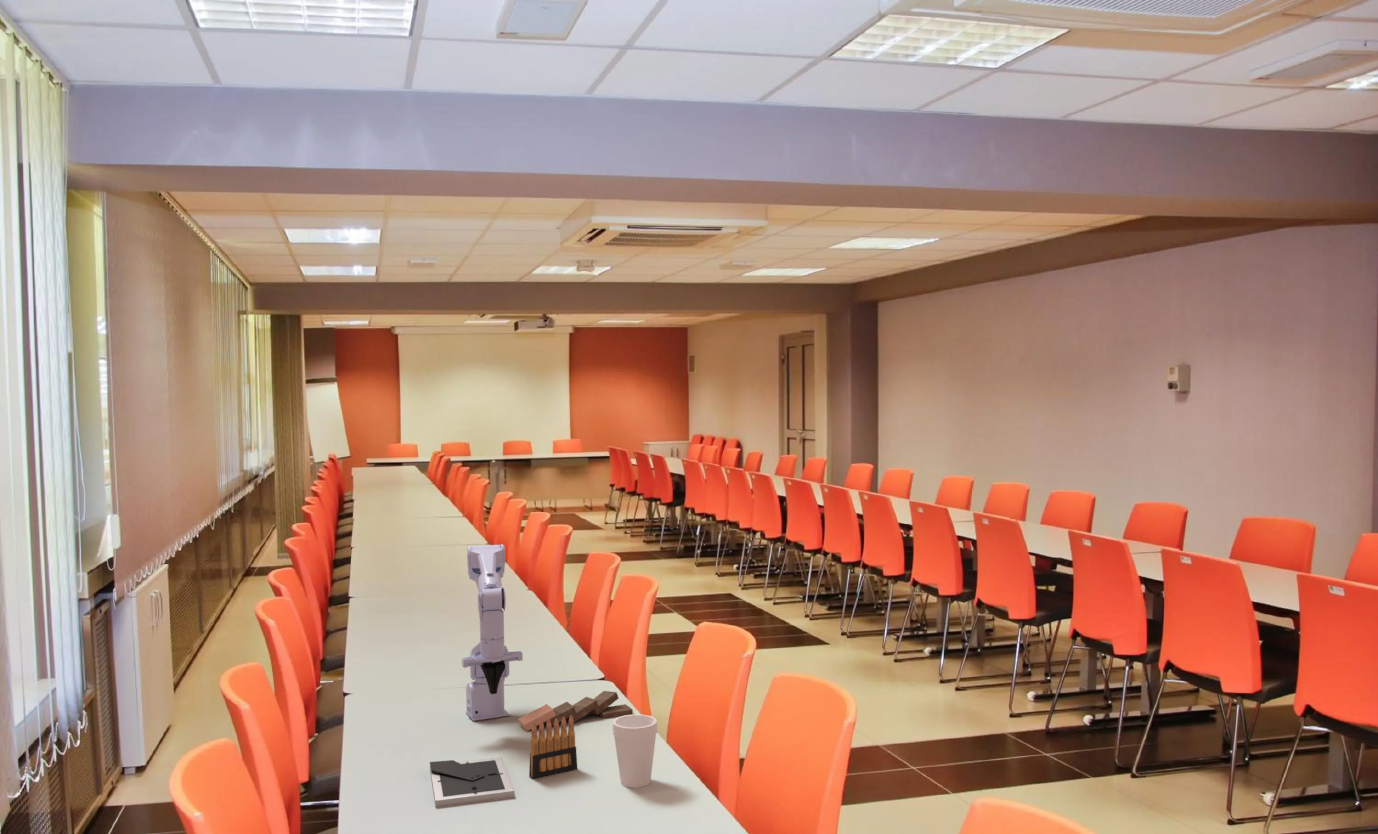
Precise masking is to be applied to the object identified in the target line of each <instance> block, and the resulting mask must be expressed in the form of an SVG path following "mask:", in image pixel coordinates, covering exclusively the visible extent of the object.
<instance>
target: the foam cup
mask: <svg viewBox="0 0 1378 834" xmlns="http://www.w3.org/2000/svg"><path fill="white" fill-rule="evenodd" d="M657 720H658V719H657V718H655V717H654V716H652V715H648V714H647V715H646V714H638V713H637V714H636V713H635V714H634V713H633V714H632V715H624V716H619V717H615V719H613V720H612V735H613V736H614V742H615V750H616V757H617V764H618V772H619V779H620V784H621V785H622V786H623V787H627V788H635V789H636V788H637V789H638V788H643V787H646V786H648V785H650V784H651V780H652V770H653V762H654V755H655V747H656V746H655V745H656V738H657V737H656V736H657V733H658V721H657Z"/></svg>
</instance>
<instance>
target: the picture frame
mask: <svg viewBox="0 0 1378 834" xmlns="http://www.w3.org/2000/svg"><path fill="white" fill-rule="evenodd" d="M429 764H430V765H429V774H430V780H431V781H430V782H431V789H432V793H433V798H434V799H433V800H434V805H435V808H442V807H451V806H458V805H466V804H473V803H481V802H490V801H495V800H496V801H497V800H499V801H500V800H507V799H514V798H515V789H514V786H513V783H512V781H511V778H510V776H509V773H508V769H507V768H506V765H505V761H504V759H503V757H502V756H501V757H500V756H499V757H492V758H483V759H482V758H481V759H472V760H465V761H464V760H463V761H456V760H453V759H450V760H441V761H440V760H438V761H437V760H436V761H429Z"/></svg>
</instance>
